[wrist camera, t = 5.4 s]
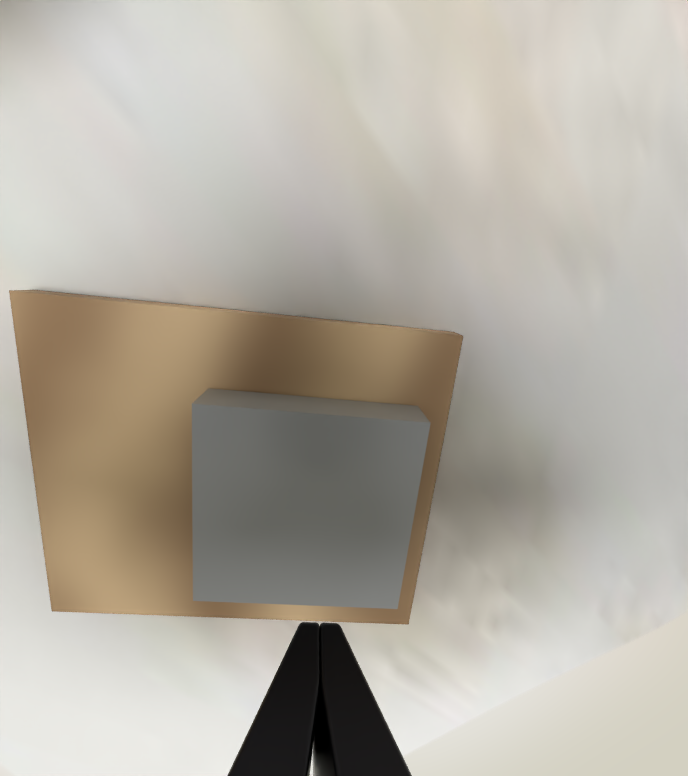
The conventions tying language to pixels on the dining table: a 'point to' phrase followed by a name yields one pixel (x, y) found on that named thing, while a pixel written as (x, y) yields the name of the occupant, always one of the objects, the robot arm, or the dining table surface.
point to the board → (187, 433)
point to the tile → (303, 498)
